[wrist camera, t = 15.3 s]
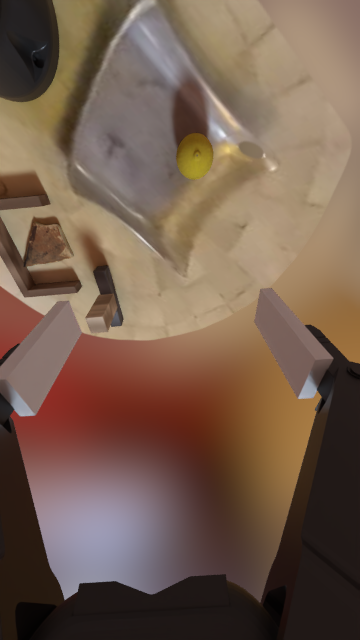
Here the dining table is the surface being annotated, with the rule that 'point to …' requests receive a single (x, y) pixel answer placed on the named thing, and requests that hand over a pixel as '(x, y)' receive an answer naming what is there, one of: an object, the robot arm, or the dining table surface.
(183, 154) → the lemon
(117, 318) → the scraper
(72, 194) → the dining table surface
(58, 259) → the shard
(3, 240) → the walnut bay
